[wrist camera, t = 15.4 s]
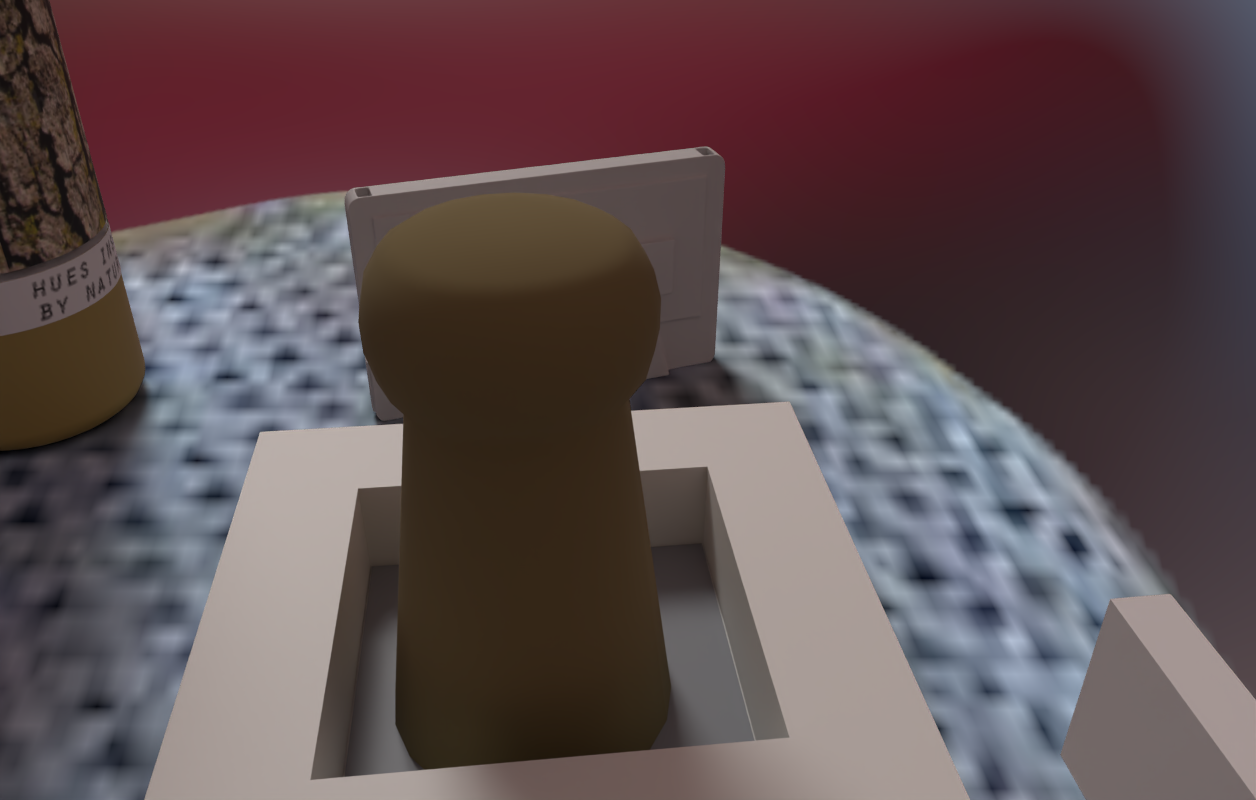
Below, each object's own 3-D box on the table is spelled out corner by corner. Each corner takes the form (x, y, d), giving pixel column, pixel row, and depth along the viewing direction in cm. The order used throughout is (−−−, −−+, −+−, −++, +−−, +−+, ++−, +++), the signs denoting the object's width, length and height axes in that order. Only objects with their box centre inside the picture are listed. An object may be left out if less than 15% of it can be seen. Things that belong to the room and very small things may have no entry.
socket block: (151, 1069, 18) (97, 948, 16) (282, 537, 30) (259, 432, 28) (959, 978, 19) (995, 856, 18) (779, 504, 31) (789, 401, 29)
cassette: (378, 432, 34) (346, 206, 30) (369, 403, 36) (337, 183, 32) (722, 369, 38) (734, 158, 34) (701, 345, 39) (710, 140, 35)
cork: (626, 838, 20) (628, 325, 15) (341, 763, 22) (241, 269, 16) (699, 624, 25) (723, 176, 20) (462, 574, 27) (420, 144, 21)
